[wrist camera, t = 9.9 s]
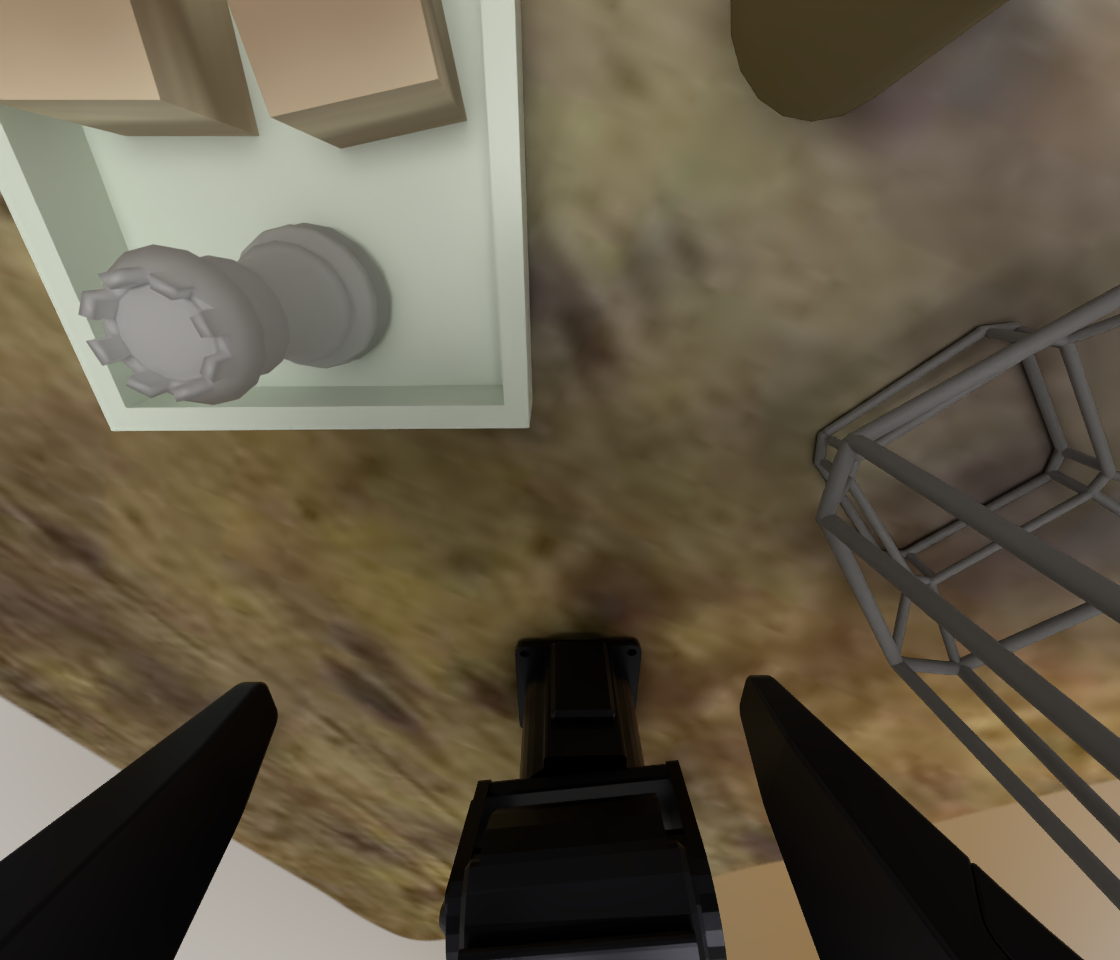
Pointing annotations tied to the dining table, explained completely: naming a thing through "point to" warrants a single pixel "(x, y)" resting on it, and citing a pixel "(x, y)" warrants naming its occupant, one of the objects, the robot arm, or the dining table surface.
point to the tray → (321, 199)
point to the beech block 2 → (352, 66)
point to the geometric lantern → (1004, 534)
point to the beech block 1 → (126, 65)
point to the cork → (841, 47)
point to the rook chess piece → (236, 312)
